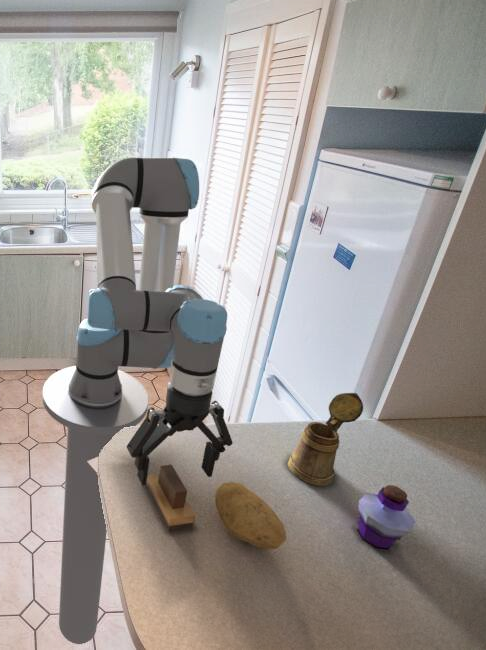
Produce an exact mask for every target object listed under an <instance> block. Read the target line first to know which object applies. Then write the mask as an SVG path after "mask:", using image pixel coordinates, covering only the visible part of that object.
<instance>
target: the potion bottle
mask: <svg viewBox="0 0 486 650" xmlns="http://www.w3.org/2000/svg"><path fill="white" fill-rule="evenodd" d="M409 502H410V501H409V499H408V494H407V493H406V491H405V490H404V489H402V488H400V487H398V486H397V485H391V484H388V485H386V486H385V487H384V486H383V487H382V488H381V489H380V490H379V491H378V492H377V493H369V492H367V493H365V494H364V495H363V496H362V497H361V498H360V499H359V500H358V510H357V514H358V516H359V518H358V528H357V532H358V534H359V536H360V538H361V540H362V541H364V542H365V543H367V544H368V545H370V546H371V547H373V548H374V549H379V550H387V551H388V550H390V548H391V547H392V546H393V545H394V543H395V542H396V541H400V540H401V539H402V538H403V537H405V536H406V535H407V534H408V533H409V532H410V531H411V530H412V528H413V527H414V526H415V524H417V521H416V520H415V518H414V517H413V515H412V514H411V512H410V511H409V510H408V508H407V507H408V505H409Z"/></svg>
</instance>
